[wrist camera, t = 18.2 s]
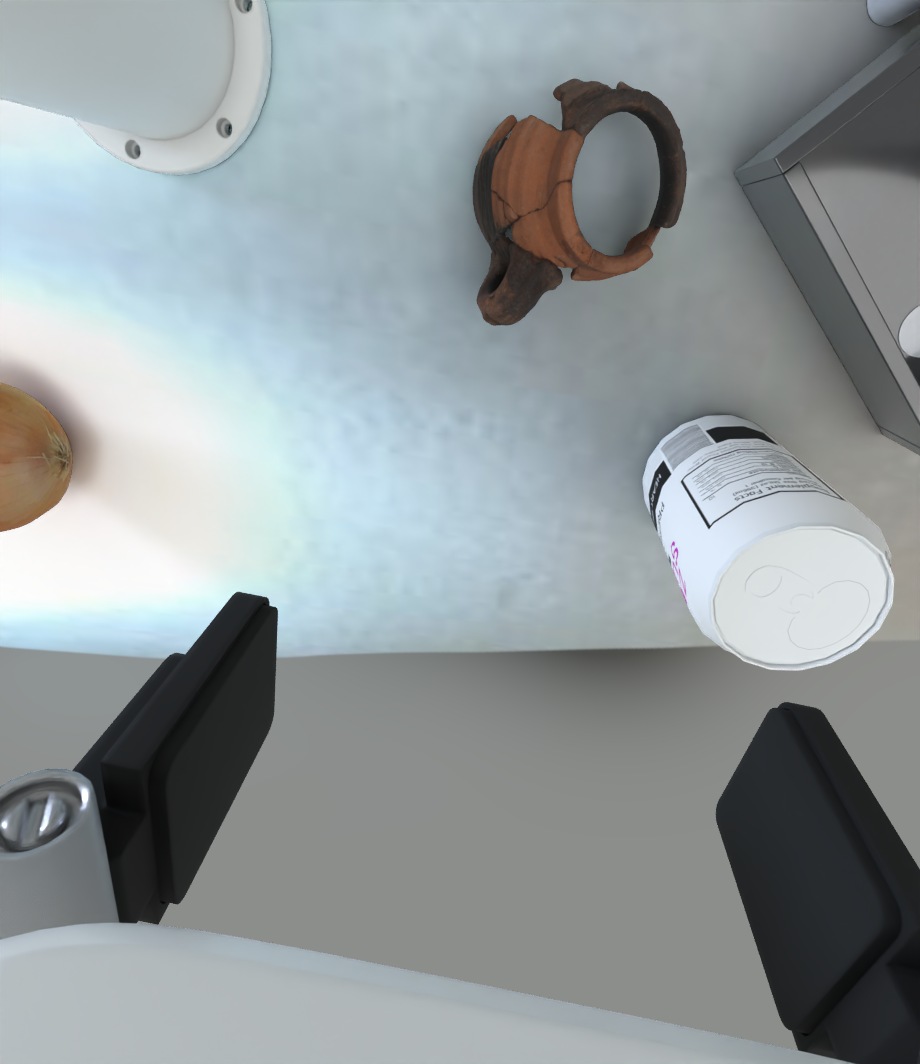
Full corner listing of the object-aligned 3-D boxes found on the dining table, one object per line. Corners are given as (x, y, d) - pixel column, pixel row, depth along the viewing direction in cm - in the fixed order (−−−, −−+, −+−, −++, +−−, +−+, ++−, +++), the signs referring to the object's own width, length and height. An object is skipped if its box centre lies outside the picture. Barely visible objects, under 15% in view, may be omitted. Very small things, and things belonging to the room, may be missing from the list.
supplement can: (806, 450, 36) (961, 571, 23) (720, 553, 40) (810, 709, 27) (693, 387, 36) (786, 474, 22) (616, 498, 39) (655, 630, 26)
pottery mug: (509, 57, 30) (608, 3, 23) (628, 173, 35) (738, 157, 29) (404, 281, 33) (466, 291, 26) (530, 360, 38) (609, 386, 31)
